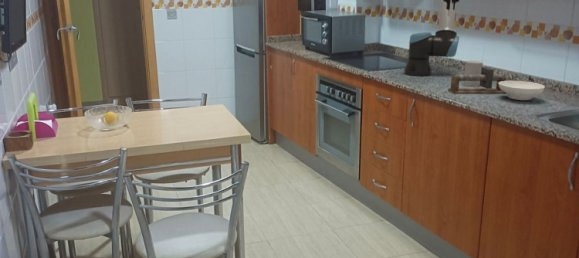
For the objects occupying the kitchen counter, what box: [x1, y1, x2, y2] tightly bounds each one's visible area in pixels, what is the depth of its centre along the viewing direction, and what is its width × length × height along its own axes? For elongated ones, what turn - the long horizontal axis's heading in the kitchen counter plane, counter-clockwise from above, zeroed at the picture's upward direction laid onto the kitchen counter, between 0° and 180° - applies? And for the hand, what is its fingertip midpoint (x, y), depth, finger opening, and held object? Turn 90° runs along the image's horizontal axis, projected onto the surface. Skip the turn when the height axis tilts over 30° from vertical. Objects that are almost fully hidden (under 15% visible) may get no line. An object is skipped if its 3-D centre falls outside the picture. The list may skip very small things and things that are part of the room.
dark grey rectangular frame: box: [479, 66, 495, 89], centre depth 259 cm, size 2×8×9 cm, turn 5°
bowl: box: [498, 80, 546, 101], centre depth 246 cm, size 20×20×7 cm
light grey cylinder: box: [462, 60, 483, 88], centre depth 277 cm, size 8×8×12 cm
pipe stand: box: [447, 74, 507, 95], centre depth 260 cm, size 26×8×9 cm, turn 95°
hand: (449, 16), depth 271 cm, fingers closed
